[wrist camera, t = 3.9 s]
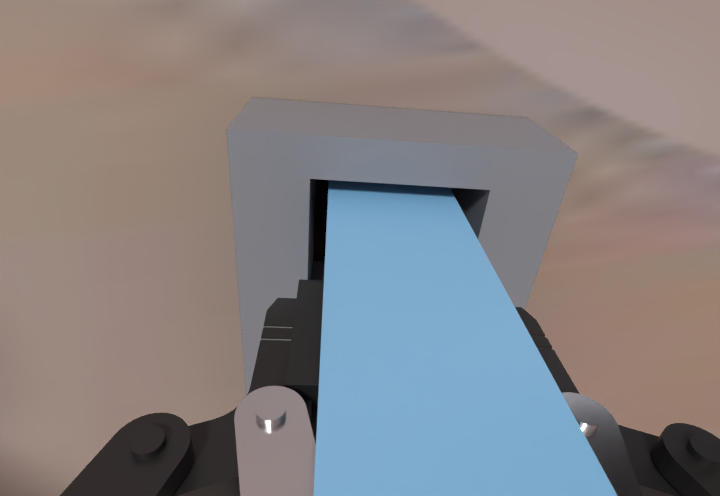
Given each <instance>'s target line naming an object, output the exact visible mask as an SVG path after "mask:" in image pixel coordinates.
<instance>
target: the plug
mask: <svg viewBox="0 0 720 496" xmlns="http://www.w3.org/2000/svg"><path fill="white" fill-rule="evenodd" d="M313 496H617V494H616V492H615V490H614V488H613V486H612V485H611V483H610V481H609V479H608V477H607V475H606V474H605V472H604V470H603V468H602V466H601V464H600V463H599V461H598V459H597V457H596V455H595V453H594V452H593V450H592V448H591V446H590V444H589V442H588V441H587V439H586V437H585V435H584V433H583V431H582V430H581V428H580V426H579V424H578V422H577V420H576V419H575V417H574V415H573V413H572V411H571V409H570V408H569V406H568V404H567V402H566V400H565V398H564V397H563V395H562V393H561V391H560V389H559V387H558V386H557V384H556V382H555V380H554V378H553V376H552V374H551V373H550V371H549V369H548V367H547V365H546V363H545V362H544V360H543V358H542V356H541V354H540V352H539V351H538V349H537V347H536V345H535V343H534V341H533V340H532V338H531V336H530V334H529V332H528V330H527V329H526V327H525V325H524V323H523V321H522V319H521V318H520V316H519V314H518V312H517V310H516V308H515V307H514V305H513V303H512V301H511V299H510V297H509V296H508V294H507V292H506V290H505V288H504V286H503V285H502V283H501V281H500V279H499V277H498V275H497V274H496V272H495V270H494V268H493V266H492V264H491V263H490V261H489V259H488V257H487V255H486V253H485V251H484V250H483V248H482V246H481V244H480V242H479V240H478V239H477V237H476V235H475V233H474V231H473V229H472V228H471V226H470V224H469V222H468V220H467V218H466V217H465V215H464V213H463V211H462V209H461V207H460V206H459V204H458V202H457V200H456V198H455V196H454V195H453V193H452V191H451V189H450V188H449V187H433V186H417V185H401V184H385V183H369V182H353V181H337V180H329V186H328V207H327V227H326V248H325V269H324V289H323V310H322V330H321V351H320V372H319V392H318V413H317V434H316V454H315V475H314V495H313Z"/></svg>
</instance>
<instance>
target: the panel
mask: <svg viewBox="0 0 720 496" xmlns="http://www.w3.org/2000/svg"><path fill="white" fill-rule="evenodd" d="M226 130H227V143H228V157H229V170H230V184H231V197H232V210H233V224H234V237H235V251H236V264H237V277H238V291H239V304H240V318H241V331H242V344H243V358H244V371H245V385H246V396H247V394H248V392H249V389H250V385H251V381H252V376H253V371H254V367H255V362H256V358H257V353H258V349H259V344H260V341H261V335H262V330H263V327H264V321H265V317H266V312H267V310H268V308H269V307H270V306H271V305H272V304H273V303H274V302H275V300H276V299H277V298H297V291H298V283H299V279H303V280H324V269H325V262H319V261H313V245H314V213H315V180H316V179H321V180H337V181H353V182H369V183H385V184H401V185H417V186H433V187H449V188H452V189H451V191H452V193H453V195H454V196H455V198H456V200H457V202H458V204H459V206H460V207H461V209H462V211H463V213H464V215H465V217H466V218H467V220H468V222H469V224H470V226H471V228H472V229H473V231H474V233H475V235H476V237H477V239H478V240H479V242H480V244H481V246H482V248H483V250H484V251H485V253H486V255H487V257H488V259H489V261H490V263H491V264H492V266H493V268H494V270H495V272H496V274H497V275H498V277H499V279H500V281H501V283H502V285H503V286H504V288H505V290H506V292H507V294H508V296H509V297H510V299H511V301H512V303H513V305H514V307H522V308H523V309H524V310H525V307H526V304H527V301H528V298H529V295H530V292H531V289H532V286H533V283H534V281H535V278H536V275H537V272H538V269H539V266H540V263H541V260H542V257H543V254H544V251H545V249H546V246H547V243H548V240H549V237H550V234H551V231H552V228H553V225H554V222H555V219H556V217H557V214H558V211H559V208H560V205H561V202H562V199H563V196H564V193H565V190H566V187H567V185H568V182H569V179H570V176H571V173H572V170H573V167H574V164H575V161H576V158H577V155H578V153H577V152H576V151H574V150H573V149H571V148H570V147H569V146H567V145H566V144H564V143H563V142H561V141H560V140H559V139H557V138H556V137H554V136H553V135H552V134H550V133H549V132H547V131H546V130H544V129H543V128H542V127H540V126H539V125H537V124H536V123H534V122H533V121H532V120H530V119H529V118H522V117H509V116H496V115H482V114H469V113H455V112H442V111H429V110H415V109H402V108H388V107H375V106H362V105H348V104H335V103H321V102H308V101H295V100H281V99H268V98H254V97H252V98H251V99H250V101H249V102H248V103H247V104H246V106H245V107H244V108H243V109H242V110H241V112H240V113H239V114H238V115H237V117H236V118H235V119H234V120H233V121H232V123H231V124H230V125H229V126H228V128H227V129H226Z"/></svg>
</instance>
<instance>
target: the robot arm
mask: <svg viewBox="0 0 720 496" xmlns="http://www.w3.org/2000/svg"><path fill="white" fill-rule="evenodd" d="M323 289H324V280H303V279H299V283H298V291H297V298H277V299H276V300H275V302H274V303H273V304H272V305H271V306H270V307H269V308H268V310H267V312H266V317H265V321H264V327H263V330H262V335H261V341H260V344H259V349H258V353H257V358H256V362H255V367H254V371H253V376H252V381H251V385H250V389H249V392H248V394H247V396H245V397H244V398H243V399H242V400H241V402H240V403H239V405H238V406H237V407H236V408H235V409H234V410H233V411H231V412H229V413H228V414H226V415H224V416H222V417H219V418H216V419H213V420H210V421H206V422H202V423H198V424H195V425H191V426H187V424H186V423H185V421H184V420H183V419H181V418H180V417H178V416H176V415H173V414H169V413H153V414H148V415H145V416H142V417H139V418H137V419H135V420H133V421H131V422H130V423H128V424H126V425H125V426H124V427H122V428H121V429H120V430H119V431H118V432H117V433H116V434H115V435H114V436H113V437H112V438H111V440H110V441H109V442H108V443H107V444H106V445H105V446H104V447H103V448H102V450H101V451H100V452H99V453H98V454H97V455H96V456H95V457H94V458H93V460H92V461H91V462H90V463H89V464H88V465H87V466H86V467H85V468H84V470H83V471H82V472H81V473H80V474H79V475H78V476H77V477H76V478H75V480H74V481H73V482H72V483H71V484H70V485H69V486H68V487H67V488H66V490H65V491H64V492H63V493H62V494H61V495H60V496H313V495H314V475H315V454H316V434H317V413H318V392H319V372H320V351H321V330H322V310H323ZM515 308H516V310H517V312H518V314H519V316H520V318H521V319H522V321H523V323H524V325H525V327H526V329H527V330H528V332H529V334H530V336H531V338H532V340H533V341H534V343H535V345H536V347H537V349H538V351H539V352H540V354H541V356H542V358H543V360H544V362H545V363H546V365H547V367H548V369H549V371H550V373H551V374H552V376H553V378H554V380H555V382H556V384H557V386H558V387H559V389H560V391H561V393H562V395H563V397H564V398H565V400H566V402H567V404H568V406H569V408H570V409H571V411H572V413H573V415H574V417H575V419H576V420H577V422H578V424H579V426H580V428H581V430H582V431H583V433H584V435H585V437H586V439H587V441H588V442H589V444H590V446H591V448H592V450H593V452H594V453H595V455H596V457H597V459H598V461H599V463H600V464H601V466H602V468H603V470H604V472H605V474H606V475H607V477H608V479H609V481H610V483H611V485H612V486H613V488H614V490H615V492H616V494H617V496H720V439H719V438H717V437H716V436H714V435H713V434H711V433H709V432H707V431H706V430H703V429H701V428H699V427H696V426H693V425H689V424H684V423H674V424H670V425H669V426H667V427H666V428H665V429H664V431H663V432H662V433H661V435H660V436H659V437H658V436H655V435H651V434H648V433H644V432H641V431H637V430H634V429H630V428H627V427H624V426H621V425H618V424H617V422H616V420H615V419H614V417H613V416H612V415H611V413H610V412H609V411H608V410H607V409H606V408H604V407H603V406H602V405H601V404H599V403H598V402H596V401H595V400H593V399H591V398H589V397H587V396H584V395H581V394H579V392H578V390H577V389H576V387H575V385H574V384H573V382H572V380H571V378H570V377H569V375H568V373H567V372H566V370H565V368H564V367H563V365H562V363H561V361H560V360H559V358H558V356H557V355H556V353H555V351H554V350H552V346H551V344H550V343H549V341H548V339H547V338H545V334H544V332H543V331H542V329H541V327H540V326H539V324H538V322H537V321H536V319H534V318H533V317H532V316H531V315H530V314H529V313H527V312H526V311H525V310H524V309H523V308H522V307H515Z"/></svg>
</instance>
